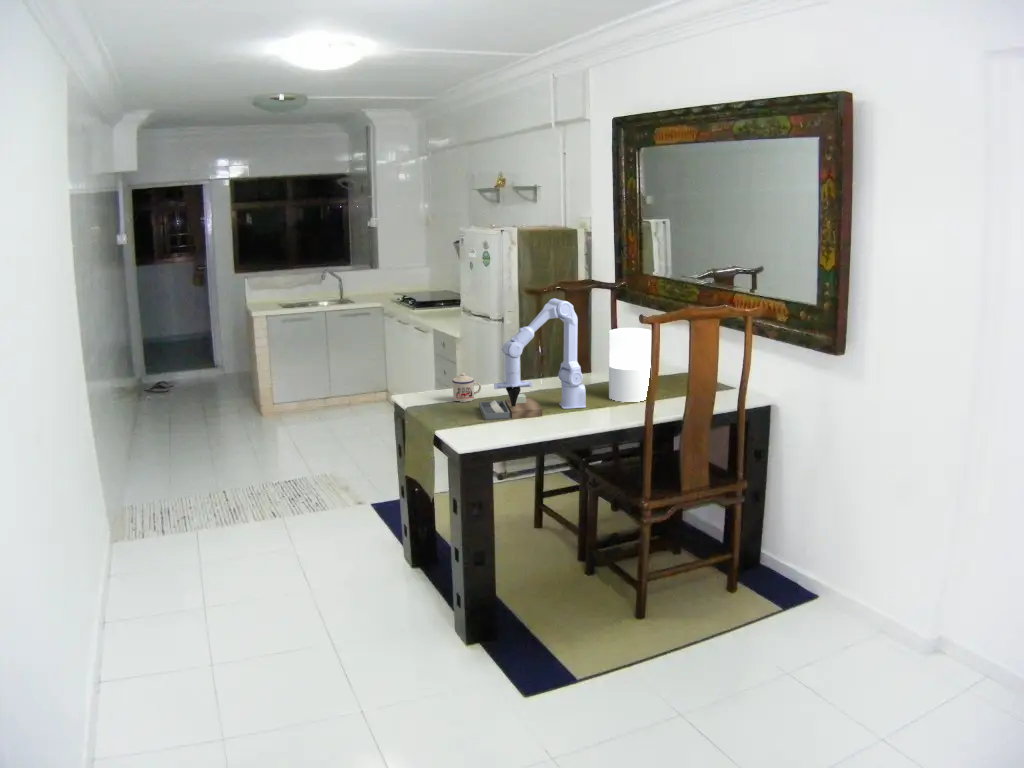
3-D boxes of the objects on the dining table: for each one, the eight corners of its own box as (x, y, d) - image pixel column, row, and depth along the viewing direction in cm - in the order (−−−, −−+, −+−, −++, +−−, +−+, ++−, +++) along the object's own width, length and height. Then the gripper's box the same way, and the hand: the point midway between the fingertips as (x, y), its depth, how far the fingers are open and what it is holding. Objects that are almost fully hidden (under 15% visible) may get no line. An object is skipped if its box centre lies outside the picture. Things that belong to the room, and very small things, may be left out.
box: (503, 406, 343) (503, 400, 342) (510, 418, 325) (510, 412, 325) (479, 408, 341) (479, 402, 341) (484, 420, 324) (484, 414, 323)
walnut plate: (534, 404, 344) (534, 397, 344) (542, 416, 327) (542, 409, 326) (505, 406, 343) (504, 399, 342) (511, 418, 325) (511, 411, 325)
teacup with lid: (454, 403, 349) (453, 376, 346) (451, 398, 358) (450, 371, 355) (483, 401, 351) (482, 374, 348) (479, 396, 360) (478, 369, 357)
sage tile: (524, 399, 341) (523, 393, 340) (526, 402, 336) (526, 396, 336) (511, 400, 340) (511, 394, 340) (513, 403, 335) (513, 397, 335)
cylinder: (605, 393, 360) (606, 328, 354) (645, 391, 361) (646, 327, 355) (612, 403, 344) (613, 335, 337) (654, 402, 345) (655, 334, 338)
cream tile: (494, 399, 330) (489, 403, 330) (496, 402, 325) (491, 406, 325) (502, 409, 331) (497, 413, 332) (504, 412, 327) (499, 416, 327)
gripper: (495, 375, 321) (496, 409, 324) (532, 373, 323) (533, 407, 327) (493, 371, 328) (493, 404, 331) (529, 369, 330) (530, 402, 333)
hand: (513, 405), depth 329 cm, fingers closed
